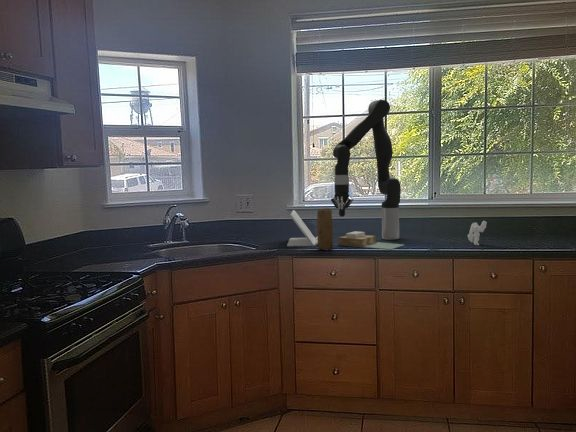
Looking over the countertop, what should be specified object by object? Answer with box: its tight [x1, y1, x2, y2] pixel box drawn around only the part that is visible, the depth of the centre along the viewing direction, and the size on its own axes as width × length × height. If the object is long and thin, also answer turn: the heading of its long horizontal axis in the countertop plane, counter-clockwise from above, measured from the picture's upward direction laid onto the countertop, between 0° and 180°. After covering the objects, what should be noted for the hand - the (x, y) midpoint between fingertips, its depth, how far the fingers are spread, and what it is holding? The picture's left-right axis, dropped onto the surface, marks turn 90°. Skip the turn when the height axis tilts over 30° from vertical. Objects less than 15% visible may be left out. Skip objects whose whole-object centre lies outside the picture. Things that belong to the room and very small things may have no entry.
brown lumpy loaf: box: [316, 208, 334, 251], centre depth 260 cm, size 11×8×20 cm
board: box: [337, 234, 377, 248], centre depth 271 cm, size 14×14×4 cm
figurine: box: [467, 220, 488, 246], centre depth 260 cm, size 10×5×12 cm, turn 33°
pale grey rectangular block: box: [345, 231, 366, 238], centre depth 271 cm, size 9×6×2 cm, turn 141°
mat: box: [362, 241, 405, 251], centre depth 263 cm, size 15×16×1 cm
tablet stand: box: [286, 209, 318, 247], centre depth 283 cm, size 18×25×17 cm
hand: (342, 216), depth 275 cm, fingers closed
